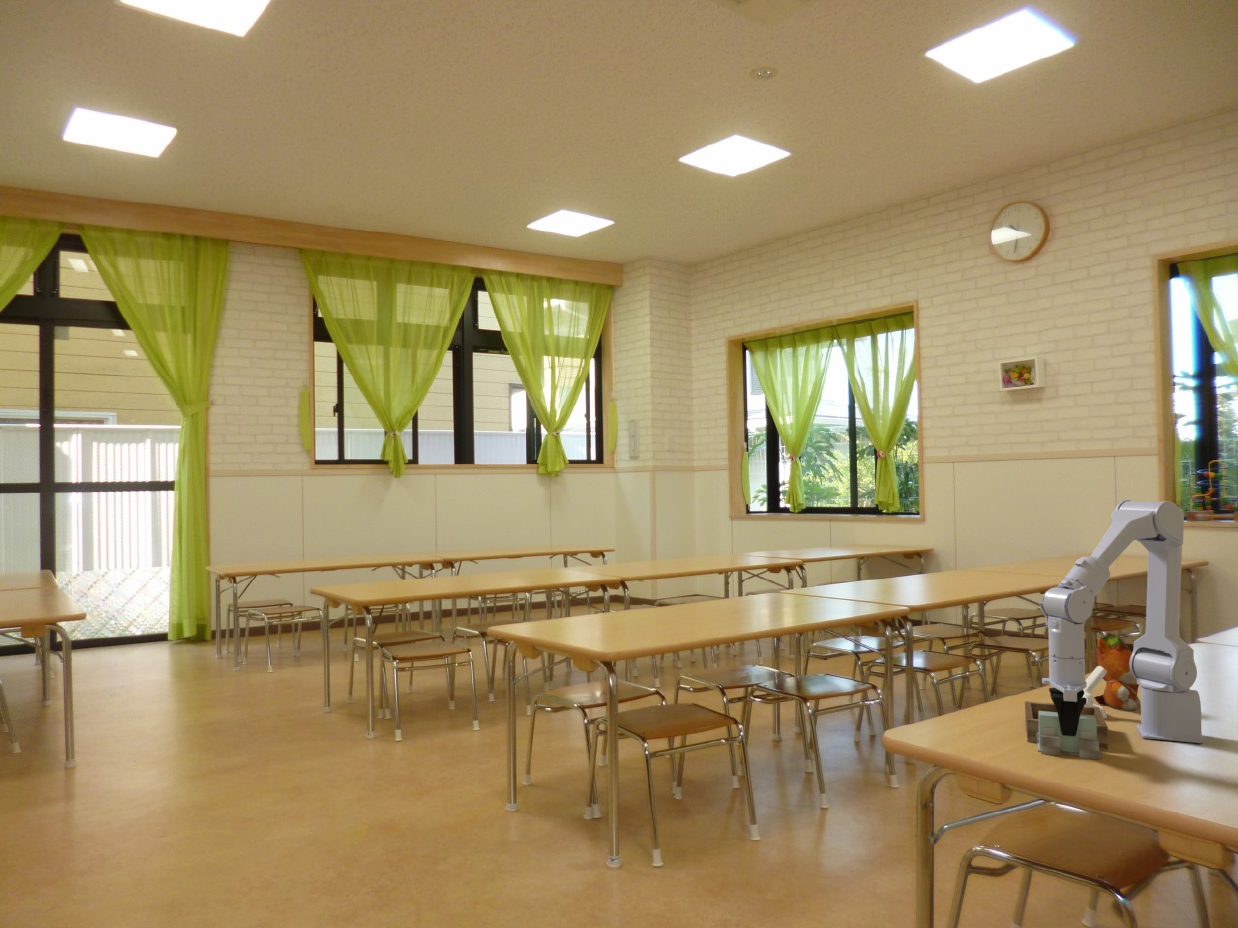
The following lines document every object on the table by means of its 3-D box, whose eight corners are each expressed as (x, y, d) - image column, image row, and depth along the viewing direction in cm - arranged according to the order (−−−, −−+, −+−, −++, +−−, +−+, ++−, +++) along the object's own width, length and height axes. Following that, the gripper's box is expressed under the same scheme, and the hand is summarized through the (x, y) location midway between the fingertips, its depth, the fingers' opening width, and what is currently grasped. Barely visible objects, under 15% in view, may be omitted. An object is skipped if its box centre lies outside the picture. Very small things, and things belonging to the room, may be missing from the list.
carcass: (1099, 727, 170) (1099, 707, 170) (1112, 760, 151) (1111, 737, 151) (1025, 721, 175) (1024, 701, 175) (1028, 752, 156) (1028, 729, 157)
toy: (1132, 714, 180) (1130, 640, 180) (1085, 705, 186) (1084, 634, 186) (1151, 704, 187) (1150, 633, 187) (1106, 696, 194) (1105, 627, 194)
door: (1095, 749, 157) (1094, 715, 157) (1097, 754, 154) (1096, 720, 154) (1039, 743, 160) (1038, 710, 160) (1039, 749, 157) (1039, 715, 157)
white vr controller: (1139, 693, 176) (1114, 675, 175) (1101, 739, 177) (1076, 722, 176) (1115, 676, 183) (1091, 659, 182) (1078, 721, 185) (1054, 705, 183)
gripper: (1039, 646, 165) (1041, 719, 165) (1043, 662, 152) (1045, 741, 152) (1082, 649, 163) (1083, 723, 162) (1090, 665, 149) (1091, 746, 149)
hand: (1068, 732), depth 157 cm, fingers closed on door, 3 cm apart
